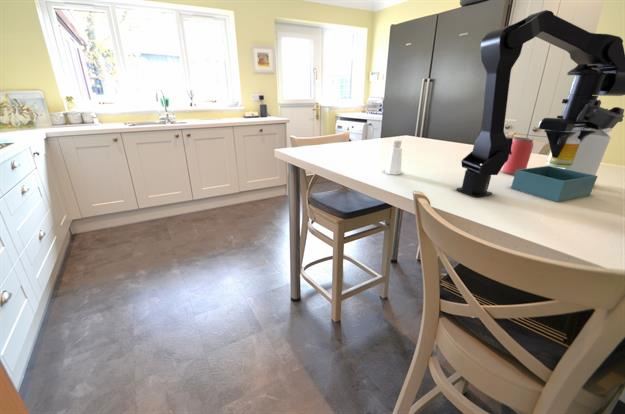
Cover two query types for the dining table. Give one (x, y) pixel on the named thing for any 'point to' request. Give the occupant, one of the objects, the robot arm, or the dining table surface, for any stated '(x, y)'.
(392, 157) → the salt shaker
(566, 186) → the bin
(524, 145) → the beer can
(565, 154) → the supplement bottle
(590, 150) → the milk carton
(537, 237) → the dining table surface
